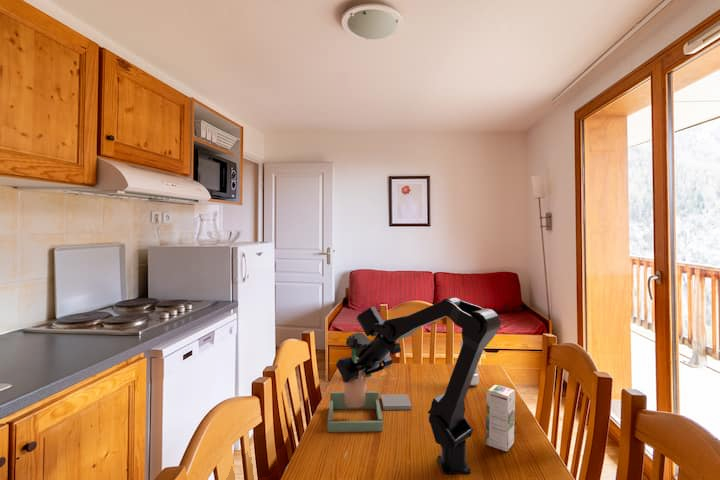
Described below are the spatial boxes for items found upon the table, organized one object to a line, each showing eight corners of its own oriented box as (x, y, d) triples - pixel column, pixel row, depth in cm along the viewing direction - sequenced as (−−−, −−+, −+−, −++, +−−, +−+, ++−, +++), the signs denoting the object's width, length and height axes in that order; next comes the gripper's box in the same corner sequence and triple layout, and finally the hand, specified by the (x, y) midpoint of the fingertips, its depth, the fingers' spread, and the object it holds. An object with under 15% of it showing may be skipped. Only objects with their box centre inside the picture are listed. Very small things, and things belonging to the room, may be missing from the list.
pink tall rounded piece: (366, 407, 111) (366, 376, 111) (344, 407, 111) (343, 377, 111) (365, 398, 118) (365, 369, 118) (344, 398, 117) (344, 369, 117)
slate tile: (411, 409, 120) (411, 405, 120) (383, 409, 120) (383, 406, 120) (407, 397, 129) (407, 394, 129) (381, 398, 129) (381, 394, 129)
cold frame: (382, 431, 107) (382, 413, 107) (327, 432, 106) (327, 414, 106) (378, 406, 122) (378, 391, 122) (330, 407, 122) (330, 392, 122)
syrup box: (493, 436, 104) (493, 383, 104) (515, 443, 100) (515, 388, 100) (485, 445, 100) (485, 389, 100) (508, 453, 96) (508, 395, 96)
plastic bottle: (480, 388, 137) (480, 333, 137) (460, 387, 138) (460, 332, 138) (478, 382, 143) (478, 329, 143) (459, 380, 145) (459, 328, 145)
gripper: (384, 321, 118) (360, 349, 126) (340, 331, 105) (315, 362, 113) (404, 351, 112) (377, 379, 120) (360, 366, 99) (333, 396, 107)
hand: (351, 378), depth 115 cm, fingers closed on pink tall rounded piece, 6 cm apart
